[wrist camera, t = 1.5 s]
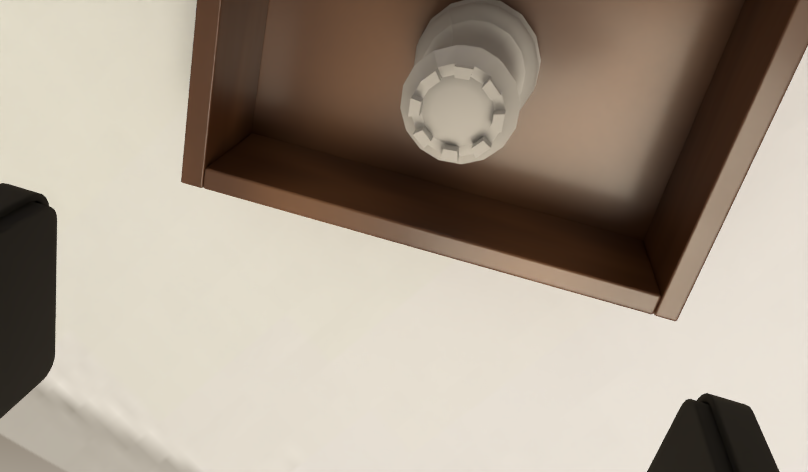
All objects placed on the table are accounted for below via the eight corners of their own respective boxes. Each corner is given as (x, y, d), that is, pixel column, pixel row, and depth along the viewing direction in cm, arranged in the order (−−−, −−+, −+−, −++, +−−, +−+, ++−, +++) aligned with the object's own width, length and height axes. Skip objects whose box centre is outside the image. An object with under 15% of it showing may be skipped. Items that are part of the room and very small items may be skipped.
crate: (235, 141, 29) (180, 182, 24) (274, -176, 24) (213, -198, 19) (653, 257, 28) (677, 322, 23) (787, -48, 23) (850, -41, 18)
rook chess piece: (396, 29, 25) (342, 72, 18) (511, -28, 24) (501, -6, 17) (448, 139, 27) (416, 218, 19) (559, 91, 25) (569, 158, 18)
